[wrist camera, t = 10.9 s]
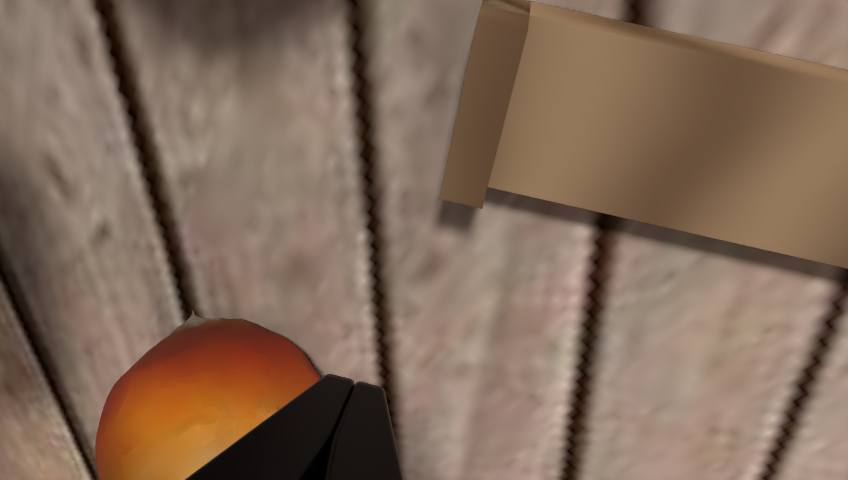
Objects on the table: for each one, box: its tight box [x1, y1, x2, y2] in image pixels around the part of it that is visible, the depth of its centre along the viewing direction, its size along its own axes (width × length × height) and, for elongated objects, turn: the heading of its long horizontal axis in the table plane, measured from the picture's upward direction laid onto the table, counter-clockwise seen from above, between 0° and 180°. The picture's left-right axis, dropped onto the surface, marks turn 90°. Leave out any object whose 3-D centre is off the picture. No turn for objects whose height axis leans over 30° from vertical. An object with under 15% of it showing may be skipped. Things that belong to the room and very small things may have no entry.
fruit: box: [95, 311, 321, 480], centre depth 26 cm, size 8×8×8 cm
